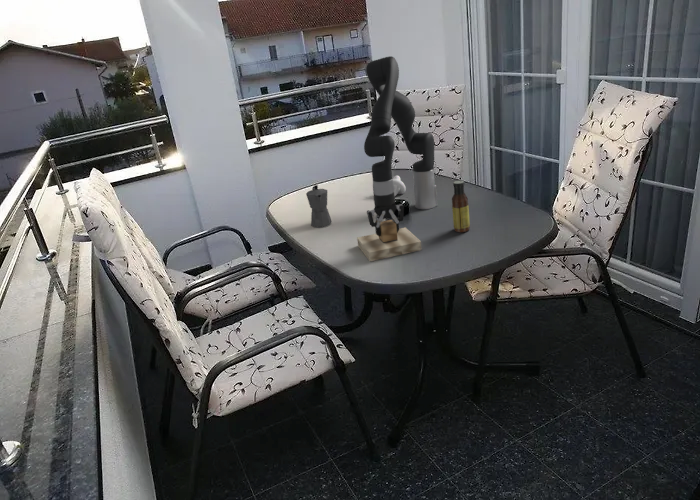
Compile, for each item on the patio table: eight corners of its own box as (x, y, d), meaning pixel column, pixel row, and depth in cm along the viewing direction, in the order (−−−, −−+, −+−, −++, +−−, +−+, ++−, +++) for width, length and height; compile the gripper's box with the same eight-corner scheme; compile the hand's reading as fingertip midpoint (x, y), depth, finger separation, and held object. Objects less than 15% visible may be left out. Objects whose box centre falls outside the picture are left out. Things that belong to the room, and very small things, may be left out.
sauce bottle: (470, 227, 199) (469, 179, 191) (468, 233, 193) (467, 184, 186) (454, 227, 201) (452, 179, 193) (451, 233, 196) (450, 184, 188)
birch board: (406, 235, 199) (405, 227, 197) (421, 250, 184) (420, 241, 183) (358, 245, 195) (357, 237, 193) (369, 261, 180) (368, 252, 179)
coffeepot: (334, 226, 217) (329, 187, 210) (313, 231, 215) (307, 191, 208) (328, 216, 231) (322, 178, 224) (308, 219, 229) (302, 182, 222)
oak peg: (393, 242, 192) (391, 219, 189) (398, 247, 187) (396, 223, 184) (379, 245, 191) (377, 222, 188) (384, 250, 186) (381, 226, 183)
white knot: (411, 192, 249) (409, 174, 246) (400, 199, 240) (398, 181, 237) (391, 190, 255) (389, 173, 252) (379, 198, 246) (377, 180, 243)
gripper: (398, 185, 185) (402, 227, 192) (361, 192, 183) (366, 234, 189) (405, 190, 179) (409, 233, 185) (367, 197, 176) (372, 241, 183)
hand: (387, 233), depth 187 cm, fingers open, 6 cm apart
